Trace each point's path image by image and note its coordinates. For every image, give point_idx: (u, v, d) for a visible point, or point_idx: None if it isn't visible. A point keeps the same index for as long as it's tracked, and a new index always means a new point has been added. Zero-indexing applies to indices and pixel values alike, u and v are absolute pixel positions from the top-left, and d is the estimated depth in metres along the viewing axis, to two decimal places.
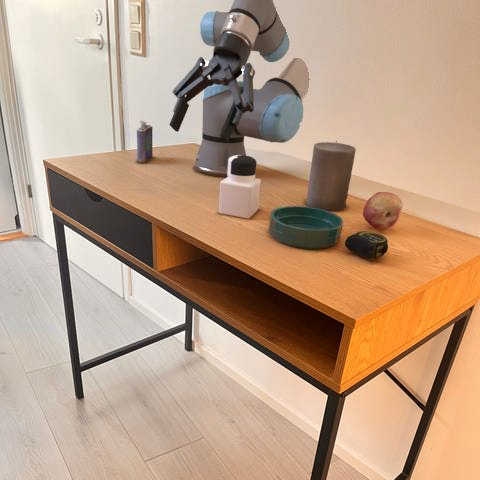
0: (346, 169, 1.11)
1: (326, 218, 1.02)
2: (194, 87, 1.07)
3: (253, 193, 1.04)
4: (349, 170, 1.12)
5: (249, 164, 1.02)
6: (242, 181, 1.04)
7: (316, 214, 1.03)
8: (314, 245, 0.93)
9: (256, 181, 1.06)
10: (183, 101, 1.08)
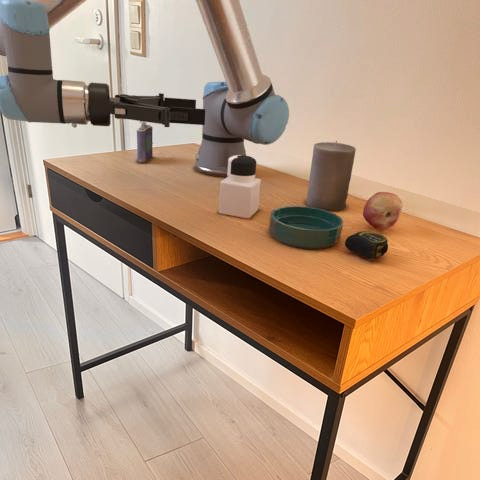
0: (346, 169, 1.11)
1: (326, 218, 1.02)
2: None
3: (253, 192, 1.04)
4: (349, 170, 1.12)
5: (249, 164, 1.02)
6: (242, 181, 1.04)
7: (316, 214, 1.03)
8: (314, 245, 0.93)
9: (256, 181, 1.06)
10: None
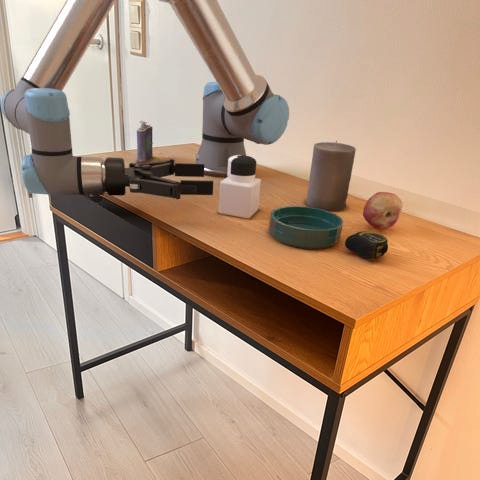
0: (346, 169, 1.11)
1: (326, 218, 1.02)
2: (161, 175, 1.07)
3: (253, 192, 1.04)
4: (349, 170, 1.12)
5: (249, 164, 1.02)
6: (242, 181, 1.04)
7: (316, 214, 1.03)
8: (314, 245, 0.93)
9: (256, 181, 1.06)
10: (177, 174, 1.09)
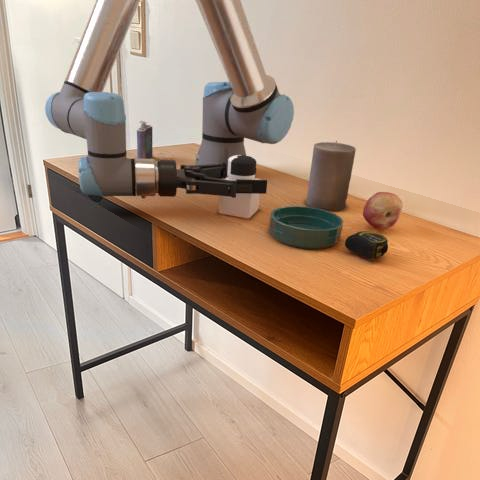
0: (346, 169, 1.11)
1: (326, 218, 1.02)
2: None
3: None
4: (349, 170, 1.12)
5: (249, 164, 1.02)
6: None
7: (316, 214, 1.03)
8: (314, 245, 0.93)
9: None
10: None
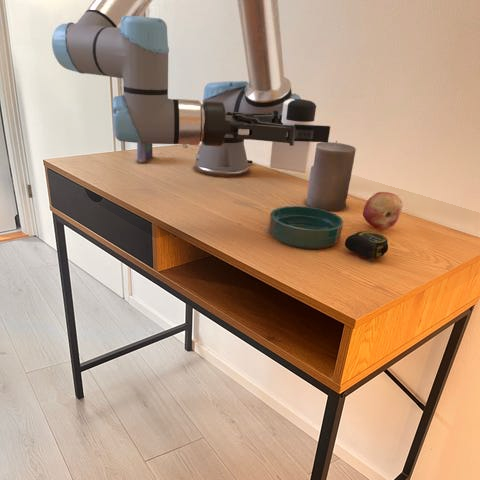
0: (346, 169, 1.11)
1: (326, 218, 1.02)
2: None
3: (311, 142, 0.90)
4: (349, 170, 1.12)
5: (308, 107, 0.88)
6: None
7: (316, 214, 1.03)
8: (314, 245, 0.93)
9: None
10: None
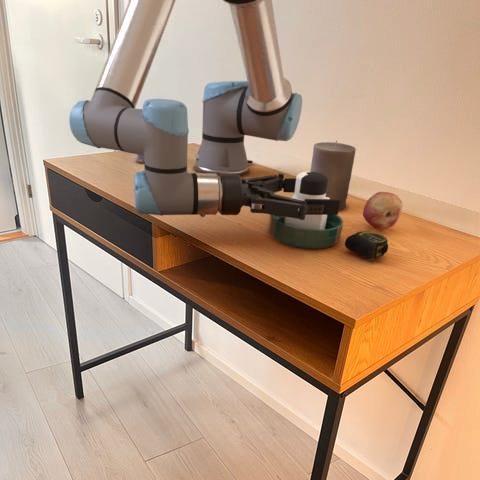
0: (346, 169, 1.11)
1: None
2: None
3: None
4: (349, 170, 1.12)
5: (321, 182, 0.91)
6: None
7: None
8: (314, 245, 0.93)
9: None
10: (286, 190, 1.00)
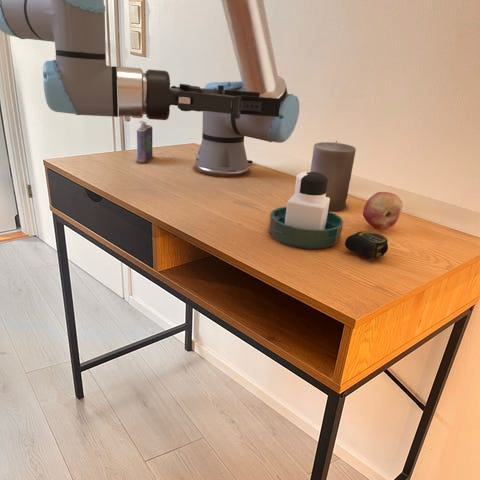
0: (346, 169, 1.11)
1: None
2: None
3: (323, 213, 0.94)
4: (349, 170, 1.12)
5: (321, 182, 0.91)
6: (312, 201, 0.93)
7: None
8: (314, 245, 0.93)
9: (326, 200, 0.95)
10: None
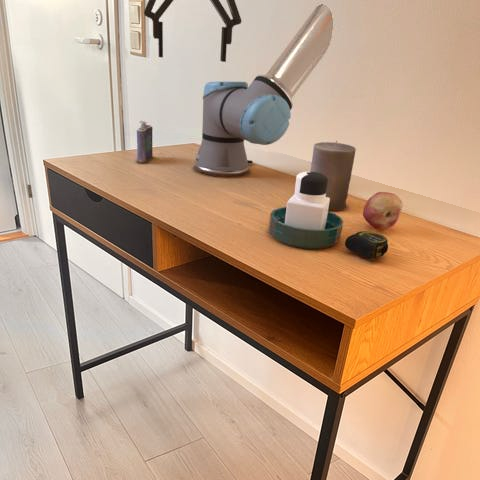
0: (346, 169, 1.11)
1: None
2: None
3: (323, 213, 0.94)
4: (349, 170, 1.12)
5: (321, 182, 0.91)
6: (312, 201, 0.93)
7: None
8: (314, 245, 0.93)
9: (326, 200, 0.95)
10: (162, 24, 1.02)
